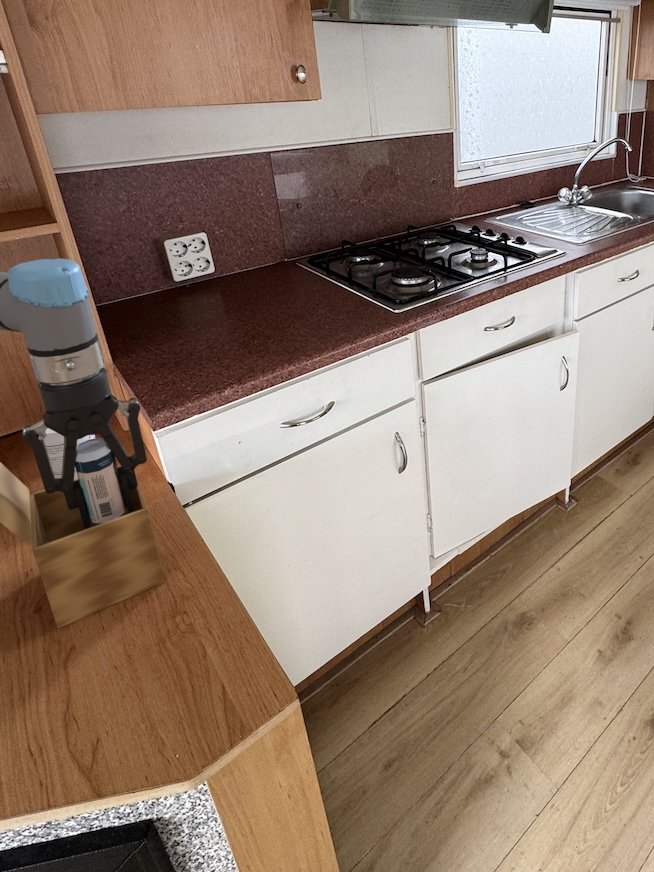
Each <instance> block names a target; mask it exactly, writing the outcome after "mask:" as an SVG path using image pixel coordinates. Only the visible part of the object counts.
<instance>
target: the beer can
mask: <svg viewBox="0 0 654 872" xmlns="http://www.w3.org/2000/svg"><path fill="white" fill-rule="evenodd" d="M117 466H118V464H117V459H116V457H115V456H114V454H113V453H112V451H111V450H110V448H109V447H108V445H107V443H106V442H105V440H104V439H103V438H102V437H95V439H90V440H87V441H85V442H82V443H80V444H79V445H78V446H77V447H76V458H75V468H76V471H77V475H78V479H79V482H80V486H81V490H82V493H83V497H84V500H85V504H86V508H87V511H88V515H89V520H90V521H91V522H93V523H105V522H108V521H110V520H113V519H116V518H118V517H119V516H121V515H122V514H123V513H124V512H125V511H126V509H127V504H126V500H125V496H124V492H123V488H122V484H121V480H120V476H119V472H118V468H117Z"/></svg>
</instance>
